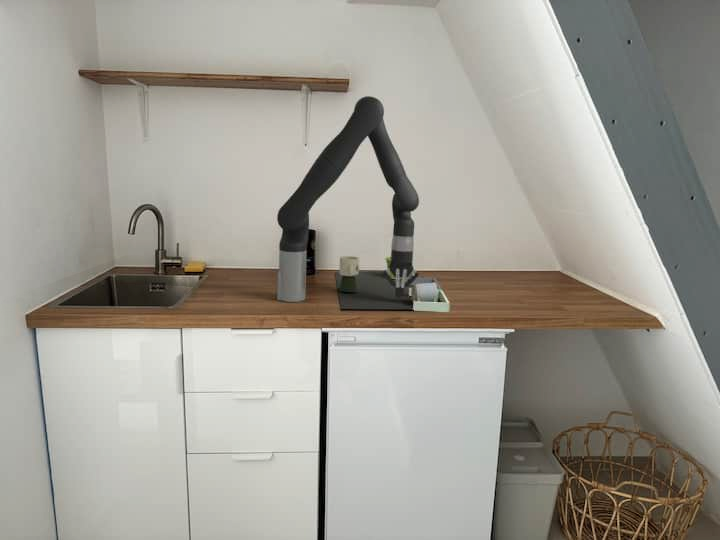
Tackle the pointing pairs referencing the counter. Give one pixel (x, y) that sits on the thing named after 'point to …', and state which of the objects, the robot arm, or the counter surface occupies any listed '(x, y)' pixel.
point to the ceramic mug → (425, 292)
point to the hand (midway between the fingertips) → (399, 297)
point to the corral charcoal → (424, 281)
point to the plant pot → (388, 260)
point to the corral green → (432, 304)
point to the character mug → (348, 273)
